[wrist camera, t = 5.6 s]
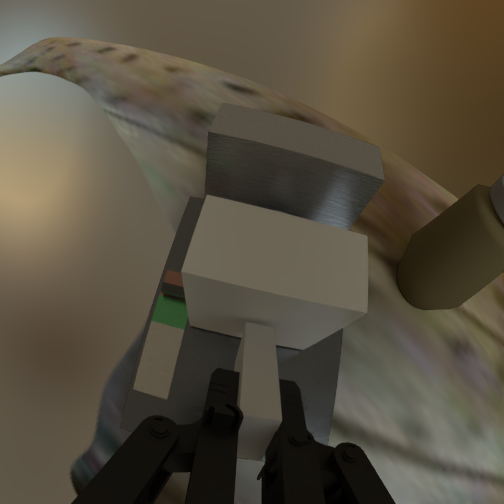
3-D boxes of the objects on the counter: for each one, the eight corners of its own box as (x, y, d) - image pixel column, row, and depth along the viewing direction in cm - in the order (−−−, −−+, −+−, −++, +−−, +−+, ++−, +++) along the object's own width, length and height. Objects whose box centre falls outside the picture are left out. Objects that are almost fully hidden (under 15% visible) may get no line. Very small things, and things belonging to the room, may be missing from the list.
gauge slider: (313, 262, 23) (365, 191, 15) (303, 349, 20) (367, 313, 12) (182, 231, 23) (177, 143, 15) (154, 316, 19) (124, 256, 12)
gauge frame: (340, 243, 27) (405, 157, 17) (315, 461, 18) (409, 497, 8) (190, 206, 26) (191, 97, 16) (125, 426, 17) (50, 446, 7)
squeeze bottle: (440, 333, 24) (591, 245, 8) (378, 300, 25) (533, 169, 9) (448, 268, 28) (562, 169, 12) (393, 234, 29) (502, 105, 13)
